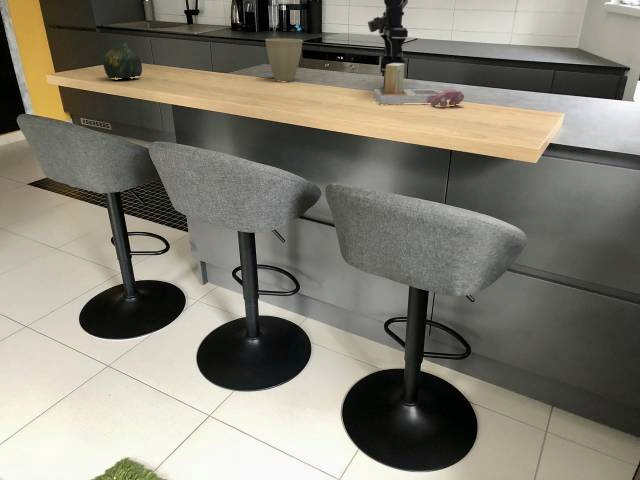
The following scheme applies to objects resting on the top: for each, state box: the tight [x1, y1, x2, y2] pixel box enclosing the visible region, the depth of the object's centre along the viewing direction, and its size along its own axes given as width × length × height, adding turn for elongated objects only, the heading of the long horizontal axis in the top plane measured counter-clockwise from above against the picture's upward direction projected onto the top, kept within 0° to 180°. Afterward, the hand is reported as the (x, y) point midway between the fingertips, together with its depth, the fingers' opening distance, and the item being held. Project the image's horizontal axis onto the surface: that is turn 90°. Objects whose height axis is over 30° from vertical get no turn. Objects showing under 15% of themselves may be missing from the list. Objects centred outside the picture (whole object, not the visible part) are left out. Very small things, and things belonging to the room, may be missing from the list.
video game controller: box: [430, 88, 465, 107], centre depth 166 cm, size 10×5×7 cm, turn 106°
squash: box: [102, 41, 143, 79], centre depth 206 cm, size 14×15×15 cm
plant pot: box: [264, 38, 304, 82], centre depth 208 cm, size 15×15×16 cm
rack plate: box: [373, 88, 440, 105], centre depth 174 cm, size 12×22×3 cm, turn 95°
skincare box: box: [384, 63, 406, 94], centre depth 172 cm, size 6×4×12 cm
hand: (390, 57), depth 178 cm, fingers open, 9 cm apart
